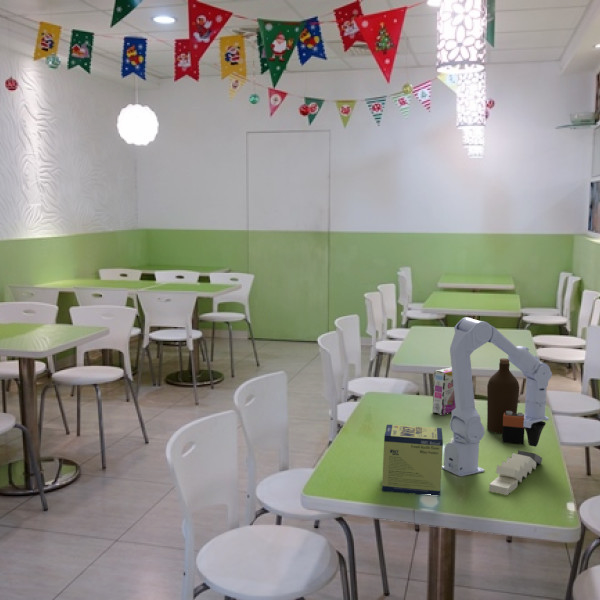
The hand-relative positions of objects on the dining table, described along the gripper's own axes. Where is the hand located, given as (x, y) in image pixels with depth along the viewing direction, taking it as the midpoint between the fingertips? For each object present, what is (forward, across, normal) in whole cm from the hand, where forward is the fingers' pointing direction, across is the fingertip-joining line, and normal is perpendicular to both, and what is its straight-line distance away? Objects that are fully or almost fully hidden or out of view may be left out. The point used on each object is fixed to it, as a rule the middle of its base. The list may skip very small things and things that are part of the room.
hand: (533, 445), depth 206 cm
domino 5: (+5, -4, 0) cm, 6 cm away
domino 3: (+5, -13, 0) cm, 14 cm away
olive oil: (+6, +26, +19) cm, 33 cm away
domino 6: (+4, +1, 0) cm, 5 cm away
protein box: (+6, -39, +20) cm, 44 cm away
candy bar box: (+6, +36, +43) cm, 56 cm away
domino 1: (+4, -17, 0) cm, 18 cm away
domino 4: (+5, -9, 0) cm, 10 cm away
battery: (+6, +16, +11) cm, 20 cm away
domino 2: (+4, -21, 0) cm, 21 cm away
